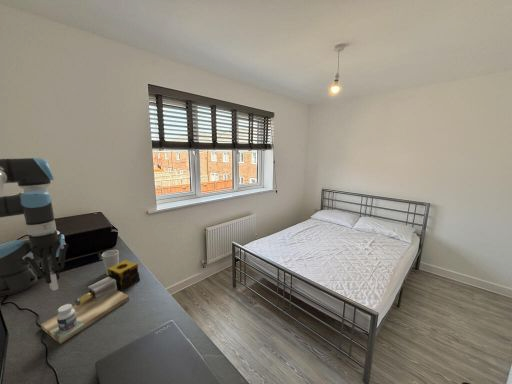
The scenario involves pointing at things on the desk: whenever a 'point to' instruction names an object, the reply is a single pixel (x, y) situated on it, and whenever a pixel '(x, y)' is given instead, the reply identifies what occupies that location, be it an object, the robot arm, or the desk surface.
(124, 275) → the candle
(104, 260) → the cup
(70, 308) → the pill bottle
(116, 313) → the desk surface
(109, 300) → the wooden base board
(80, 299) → the pin
